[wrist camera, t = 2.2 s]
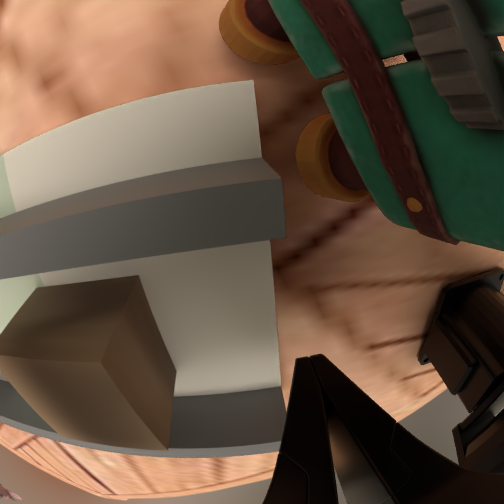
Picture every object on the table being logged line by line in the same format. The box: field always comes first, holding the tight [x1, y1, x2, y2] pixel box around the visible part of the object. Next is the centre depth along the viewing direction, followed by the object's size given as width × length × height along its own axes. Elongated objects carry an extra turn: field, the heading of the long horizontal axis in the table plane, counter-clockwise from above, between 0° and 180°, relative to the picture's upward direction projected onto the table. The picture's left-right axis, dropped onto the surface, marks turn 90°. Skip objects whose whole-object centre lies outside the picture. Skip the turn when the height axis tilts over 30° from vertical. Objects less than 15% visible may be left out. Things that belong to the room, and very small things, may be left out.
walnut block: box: [0, 275, 177, 451], centre depth 8 cm, size 5×5×4 cm
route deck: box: [0, 80, 286, 458], centre depth 9 cm, size 25×16×5 cm, turn 96°
